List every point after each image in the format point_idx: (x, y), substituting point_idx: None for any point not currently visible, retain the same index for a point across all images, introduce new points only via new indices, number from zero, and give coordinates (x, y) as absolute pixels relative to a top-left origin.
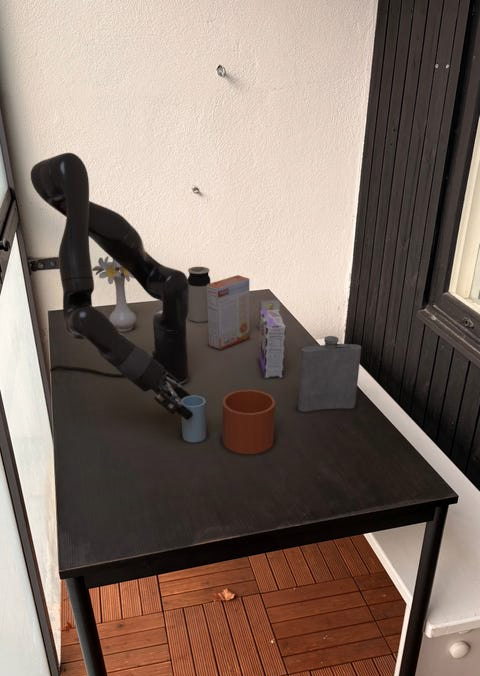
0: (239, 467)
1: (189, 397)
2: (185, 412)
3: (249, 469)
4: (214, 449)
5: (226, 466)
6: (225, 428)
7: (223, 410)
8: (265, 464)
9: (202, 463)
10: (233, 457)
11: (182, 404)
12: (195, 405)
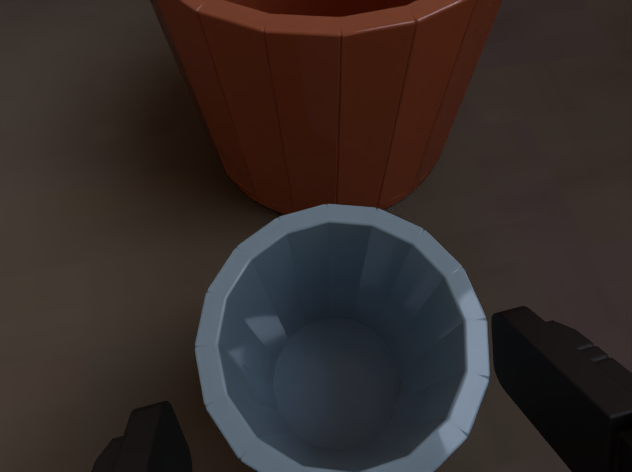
0: (554, 116)
1: (239, 407)
2: (612, 365)
3: (552, 81)
4: (443, 243)
5: (570, 165)
6: (430, 130)
7: (424, 57)
8: (493, 37)
9: (593, 274)
10: (485, 150)
11: (614, 413)
12: (242, 355)
